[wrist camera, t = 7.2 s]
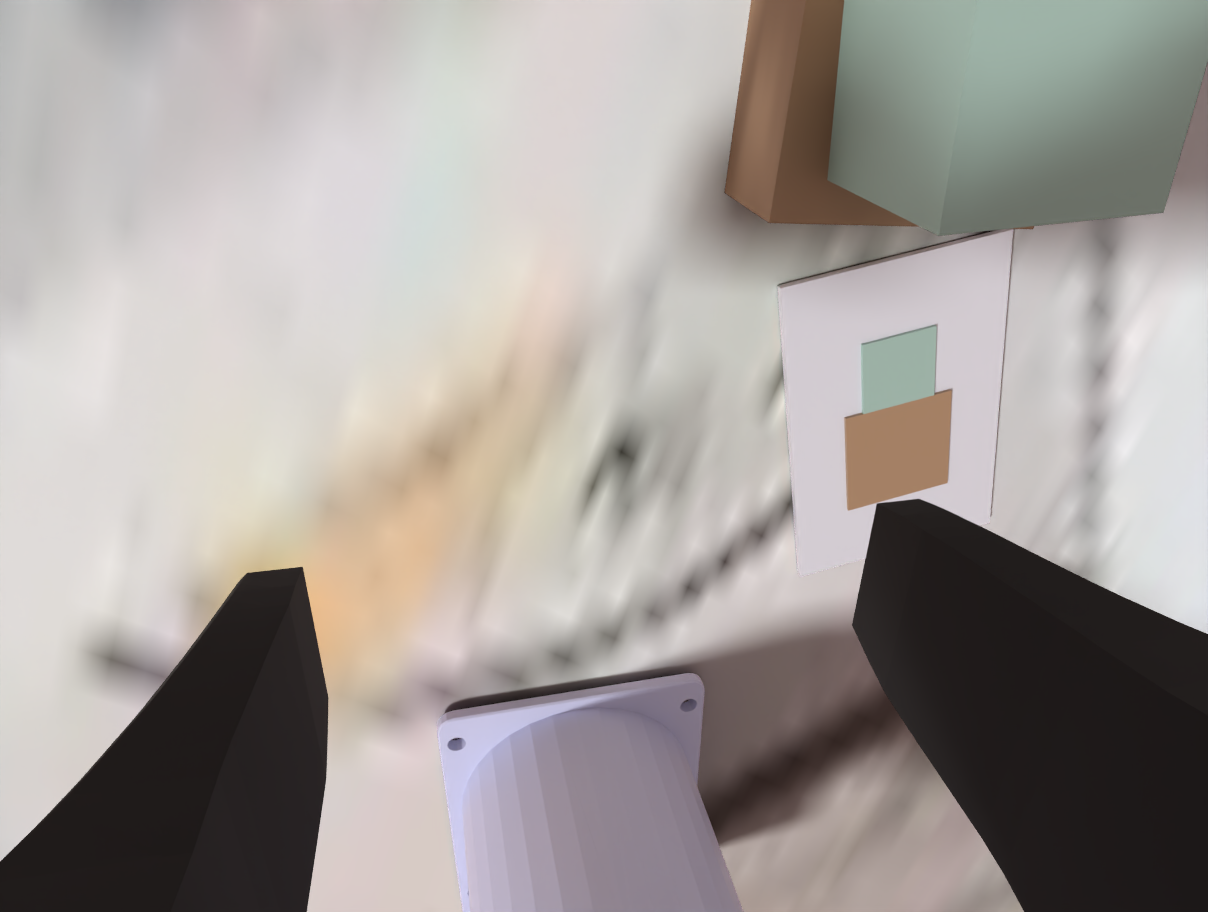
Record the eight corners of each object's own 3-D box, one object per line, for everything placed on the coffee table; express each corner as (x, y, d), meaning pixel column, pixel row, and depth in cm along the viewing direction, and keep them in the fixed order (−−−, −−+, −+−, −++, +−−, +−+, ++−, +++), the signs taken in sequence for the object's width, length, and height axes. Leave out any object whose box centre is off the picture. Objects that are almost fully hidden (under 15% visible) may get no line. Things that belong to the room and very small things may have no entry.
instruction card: (985, 519, 26) (991, 524, 25) (797, 573, 25) (802, 579, 25) (1008, 227, 21) (1016, 230, 21) (777, 285, 20) (782, 289, 20)
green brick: (1012, 163, 17) (1163, 212, 14) (827, 180, 17) (938, 236, 13) (1058, -68, 15) (1248, -78, 12) (849, -60, 15) (988, -67, 11)
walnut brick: (953, 197, 21) (1032, 229, 18) (719, 189, 19) (769, 223, 17) (1032, -98, 18) (1139, -108, 15) (762, -130, 16) (830, -147, 14)
